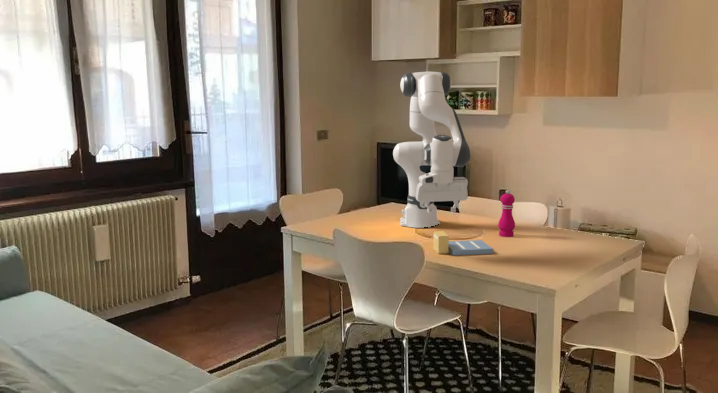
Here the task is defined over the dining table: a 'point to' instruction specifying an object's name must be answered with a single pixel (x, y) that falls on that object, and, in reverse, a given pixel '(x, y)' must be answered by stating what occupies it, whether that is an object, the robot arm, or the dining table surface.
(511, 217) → the pepper mill
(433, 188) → the robot arm
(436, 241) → the pale yellow block
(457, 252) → the board
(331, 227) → the dining table surface
